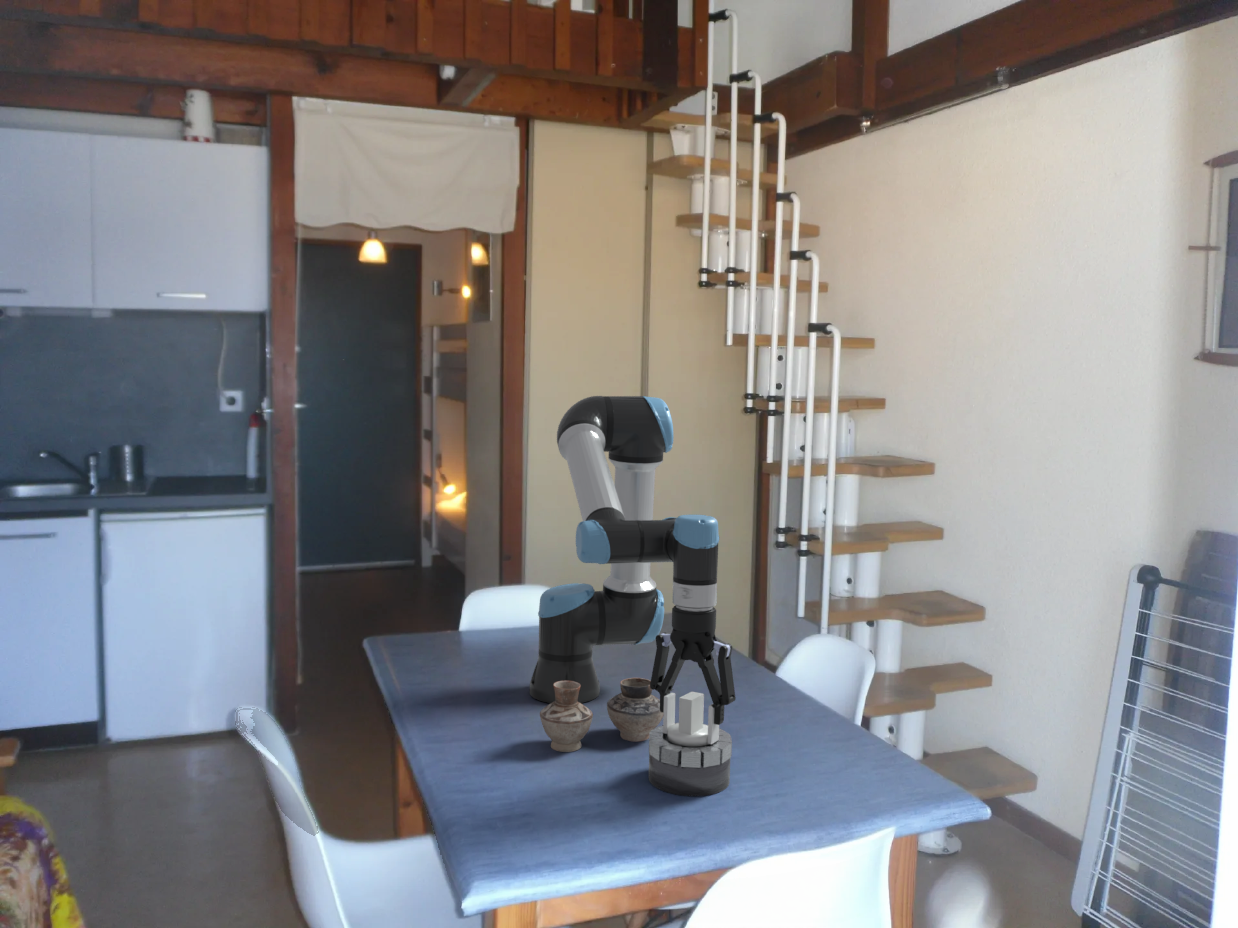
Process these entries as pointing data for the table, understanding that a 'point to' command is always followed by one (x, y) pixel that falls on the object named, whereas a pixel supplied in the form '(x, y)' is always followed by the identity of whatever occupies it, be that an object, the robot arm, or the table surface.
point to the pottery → (626, 710)
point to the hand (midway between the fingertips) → (690, 736)
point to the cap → (690, 722)
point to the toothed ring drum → (689, 765)
